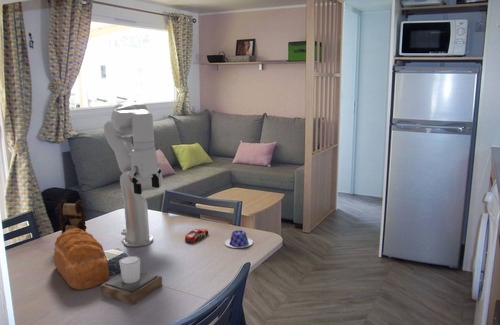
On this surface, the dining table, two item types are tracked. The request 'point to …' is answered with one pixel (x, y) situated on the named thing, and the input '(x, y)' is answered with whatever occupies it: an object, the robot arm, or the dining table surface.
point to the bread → (80, 259)
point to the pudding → (238, 240)
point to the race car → (196, 235)
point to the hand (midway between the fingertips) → (147, 190)
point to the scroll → (72, 216)
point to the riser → (131, 287)
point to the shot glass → (130, 269)
